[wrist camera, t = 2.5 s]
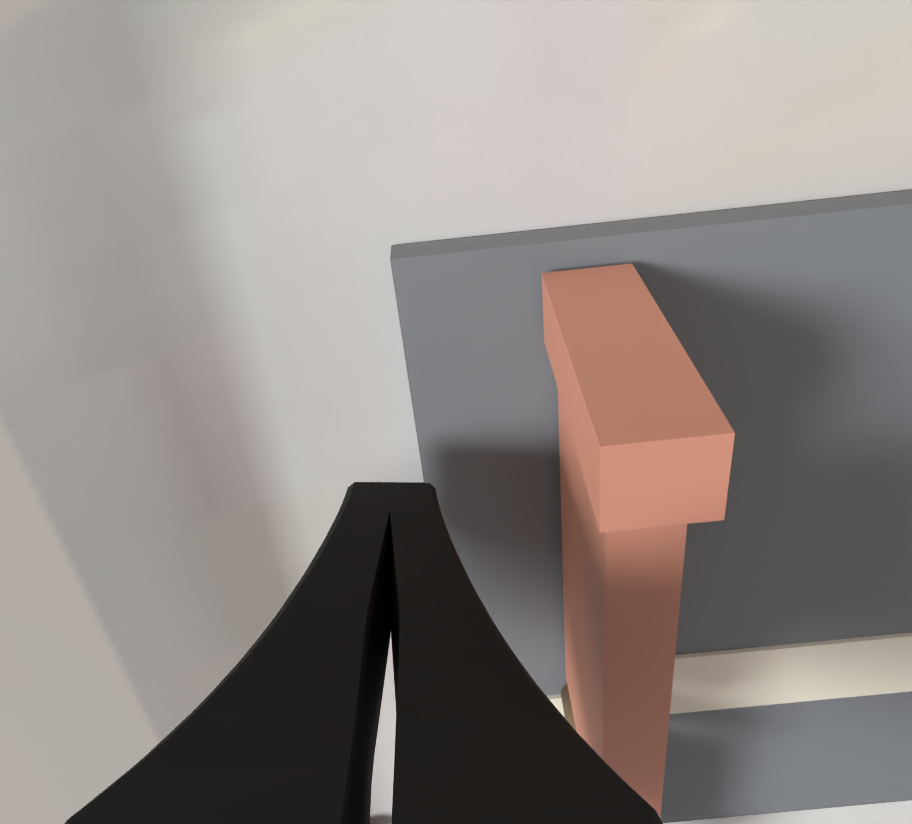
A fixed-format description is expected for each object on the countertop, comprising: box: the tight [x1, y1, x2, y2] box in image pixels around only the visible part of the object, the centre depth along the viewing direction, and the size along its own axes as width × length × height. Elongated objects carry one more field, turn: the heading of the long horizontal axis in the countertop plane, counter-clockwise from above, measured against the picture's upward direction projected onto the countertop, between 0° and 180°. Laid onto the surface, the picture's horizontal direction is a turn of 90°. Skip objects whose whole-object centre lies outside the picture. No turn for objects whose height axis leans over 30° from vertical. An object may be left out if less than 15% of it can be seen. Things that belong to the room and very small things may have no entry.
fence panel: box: [542, 263, 735, 817], centre depth 13 cm, size 10×1×5 cm, turn 5°
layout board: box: [390, 190, 912, 823], centre depth 17 cm, size 17×14×1 cm
